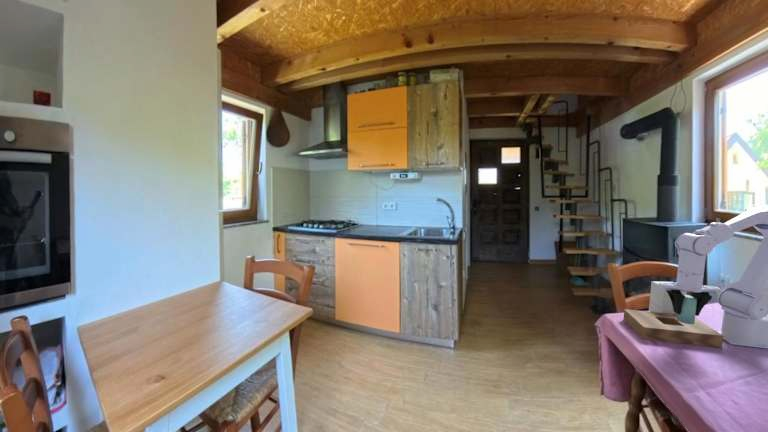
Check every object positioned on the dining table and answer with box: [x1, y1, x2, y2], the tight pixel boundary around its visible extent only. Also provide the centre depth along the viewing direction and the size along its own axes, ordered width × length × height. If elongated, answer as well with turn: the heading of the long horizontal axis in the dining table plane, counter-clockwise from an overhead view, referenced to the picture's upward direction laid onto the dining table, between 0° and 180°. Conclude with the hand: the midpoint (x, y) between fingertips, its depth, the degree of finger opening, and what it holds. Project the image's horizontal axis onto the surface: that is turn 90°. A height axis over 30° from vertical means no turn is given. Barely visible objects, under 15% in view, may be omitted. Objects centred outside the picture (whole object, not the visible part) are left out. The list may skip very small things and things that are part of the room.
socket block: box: [623, 308, 724, 349], centre depth 101 cm, size 20×14×4 cm
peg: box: [677, 294, 697, 324], centre depth 94 cm, size 4×4×8 cm
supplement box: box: [648, 280, 688, 314], centre depth 112 cm, size 7×7×13 cm
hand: (685, 313), depth 95 cm, fingers closed on peg, 4 cm apart
